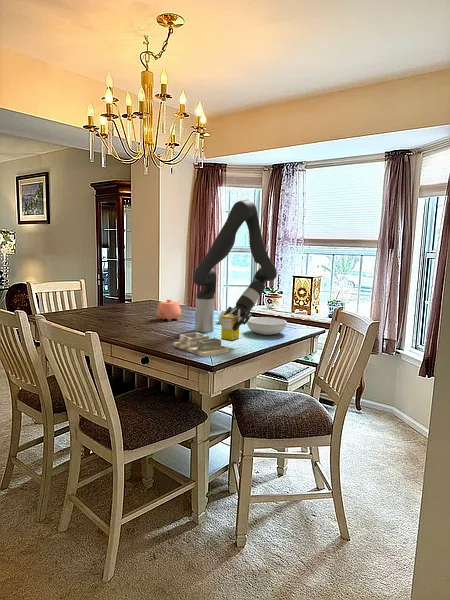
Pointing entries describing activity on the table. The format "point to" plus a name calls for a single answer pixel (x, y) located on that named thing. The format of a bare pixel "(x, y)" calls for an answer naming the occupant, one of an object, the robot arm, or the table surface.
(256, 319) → the serving bowl
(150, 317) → the table surface
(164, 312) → the teapot
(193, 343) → the beige compartment tray
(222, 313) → the architectural model
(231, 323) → the supplement box
